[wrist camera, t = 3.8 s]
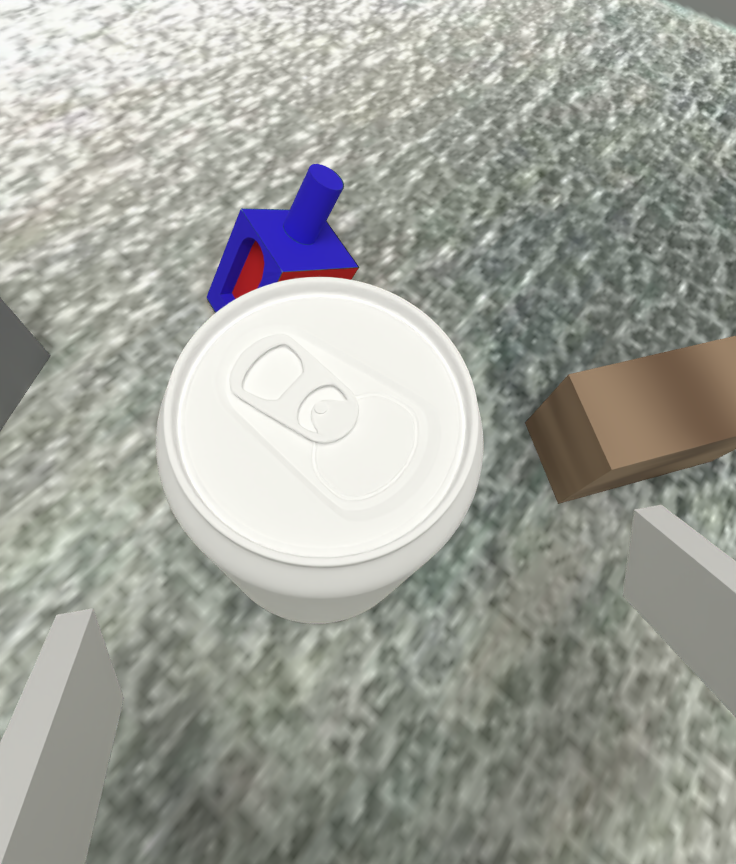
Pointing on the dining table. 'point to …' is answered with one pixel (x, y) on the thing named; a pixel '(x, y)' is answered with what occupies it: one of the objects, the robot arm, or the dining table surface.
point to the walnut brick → (637, 419)
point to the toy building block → (284, 242)
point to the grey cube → (16, 361)
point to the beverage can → (319, 444)
